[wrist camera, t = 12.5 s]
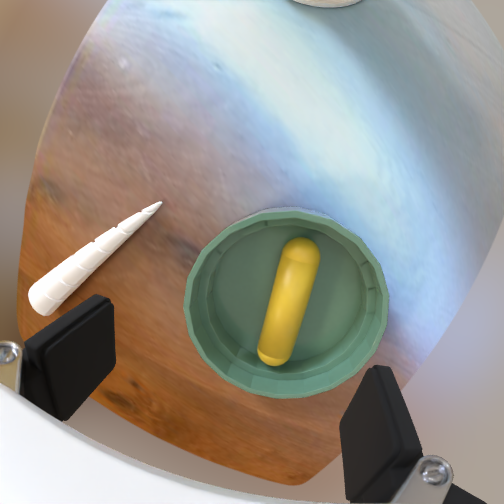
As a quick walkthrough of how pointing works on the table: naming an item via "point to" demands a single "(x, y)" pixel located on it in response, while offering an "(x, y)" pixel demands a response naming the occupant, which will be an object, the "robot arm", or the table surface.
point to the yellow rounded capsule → (288, 300)
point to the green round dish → (258, 296)
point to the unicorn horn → (82, 264)
